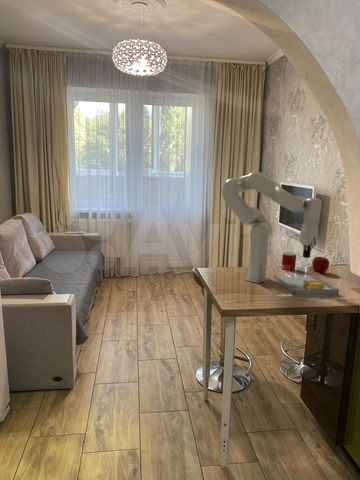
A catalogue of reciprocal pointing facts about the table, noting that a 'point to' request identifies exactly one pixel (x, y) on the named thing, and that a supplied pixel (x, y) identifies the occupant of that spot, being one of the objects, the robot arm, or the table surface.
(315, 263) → the apple
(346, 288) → the table surface
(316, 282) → the block
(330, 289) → the grey tray
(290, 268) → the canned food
